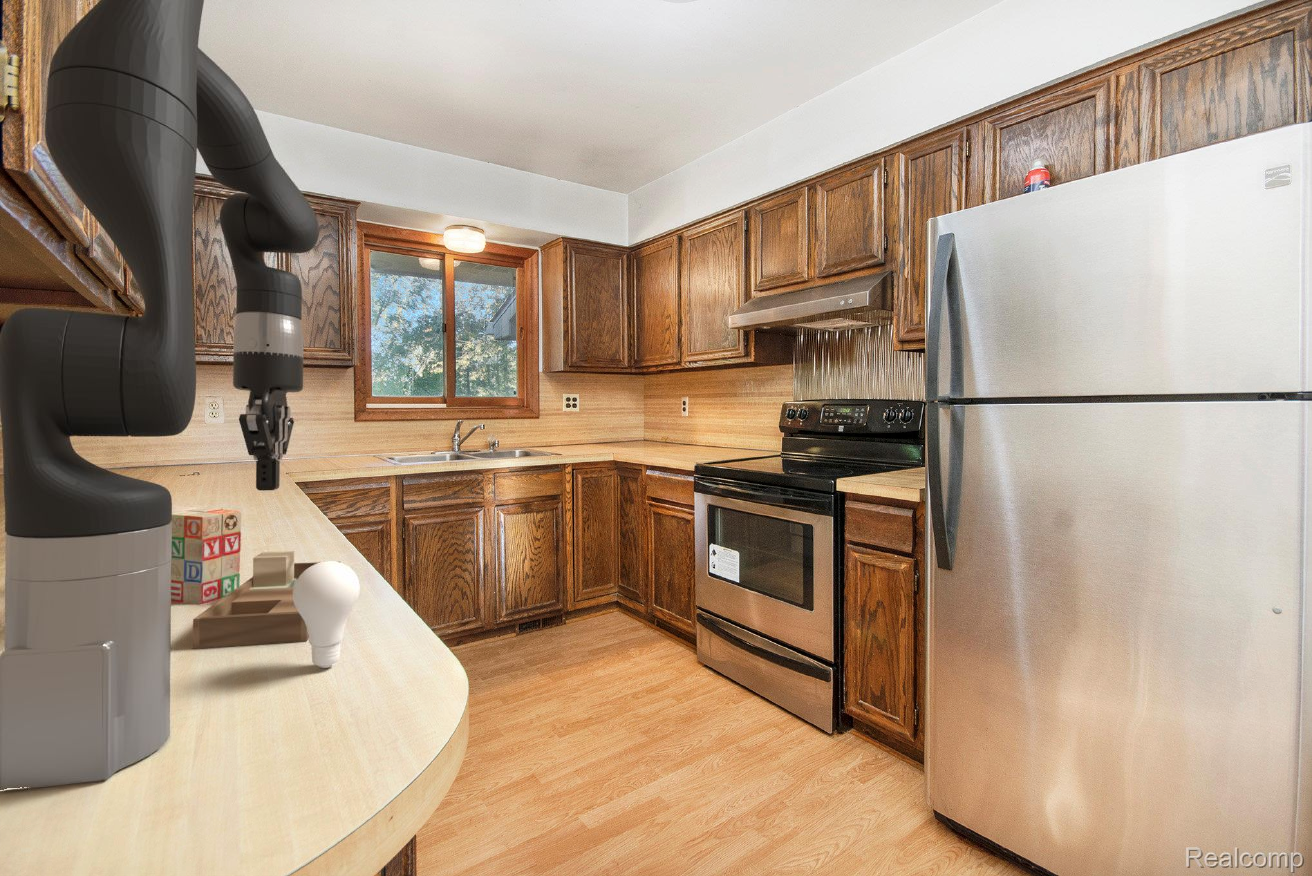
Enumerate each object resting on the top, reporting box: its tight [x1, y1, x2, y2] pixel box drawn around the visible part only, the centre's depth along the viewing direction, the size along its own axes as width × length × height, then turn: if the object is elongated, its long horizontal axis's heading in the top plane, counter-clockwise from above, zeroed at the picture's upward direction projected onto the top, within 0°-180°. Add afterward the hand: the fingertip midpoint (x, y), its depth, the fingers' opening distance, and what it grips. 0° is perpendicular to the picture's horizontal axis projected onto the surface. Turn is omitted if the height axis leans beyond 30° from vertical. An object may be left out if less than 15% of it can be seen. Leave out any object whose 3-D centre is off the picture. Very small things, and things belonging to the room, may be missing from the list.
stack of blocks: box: [171, 505, 242, 605], centre depth 89 cm, size 21×6×12 cm, turn 79°
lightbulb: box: [293, 560, 361, 669], centre depth 64 cm, size 6×6×11 cm
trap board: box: [192, 561, 341, 650], centre depth 80 cm, size 21×11×4 cm, turn 16°
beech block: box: [252, 550, 295, 587], centre depth 86 cm, size 4×4×4 cm
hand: (267, 489), depth 78 cm, fingers closed
